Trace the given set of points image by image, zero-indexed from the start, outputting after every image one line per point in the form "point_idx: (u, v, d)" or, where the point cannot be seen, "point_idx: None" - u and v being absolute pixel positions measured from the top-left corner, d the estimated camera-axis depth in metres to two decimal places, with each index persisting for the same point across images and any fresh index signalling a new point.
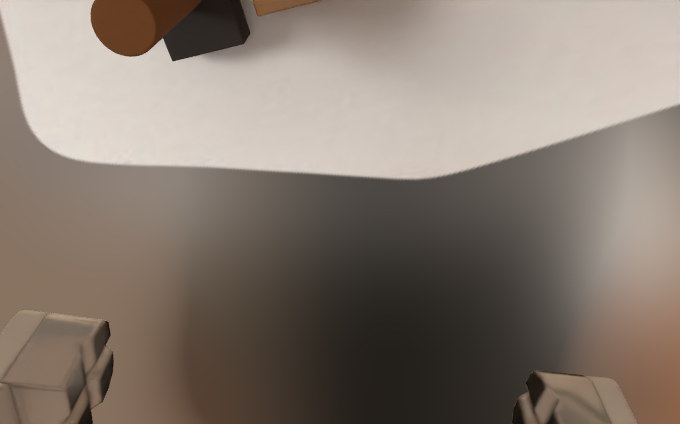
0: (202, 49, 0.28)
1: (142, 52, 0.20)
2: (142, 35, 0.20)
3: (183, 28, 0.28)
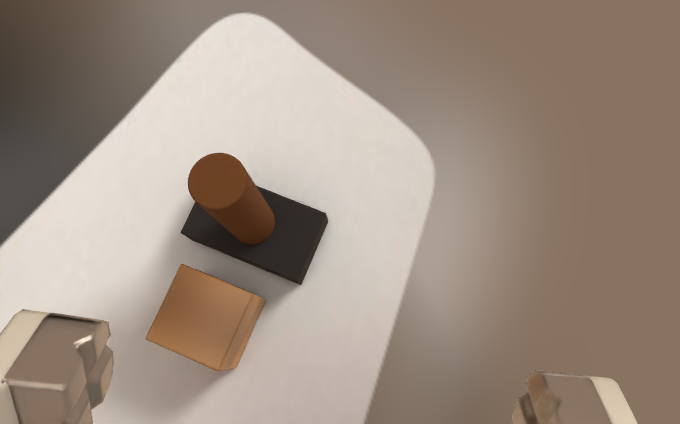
0: None
1: (189, 175, 0.22)
2: (200, 186, 0.22)
3: None
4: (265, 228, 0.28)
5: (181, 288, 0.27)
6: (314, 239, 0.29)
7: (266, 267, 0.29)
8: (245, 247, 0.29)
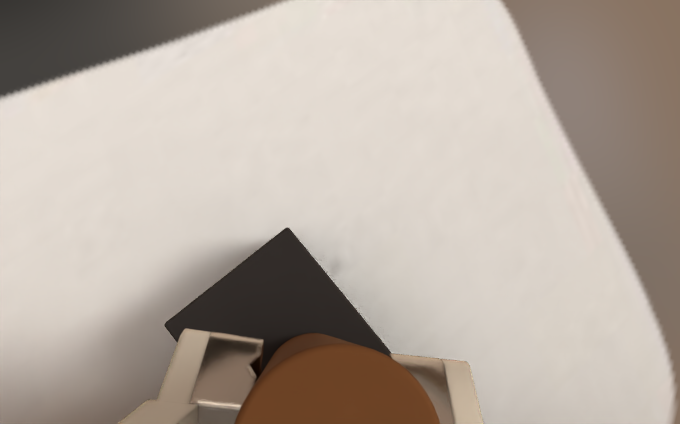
0: (239, 275, 0.14)
1: (259, 390, 0.06)
2: None
3: (285, 299, 0.14)
4: None
5: None
6: None
7: None
8: None
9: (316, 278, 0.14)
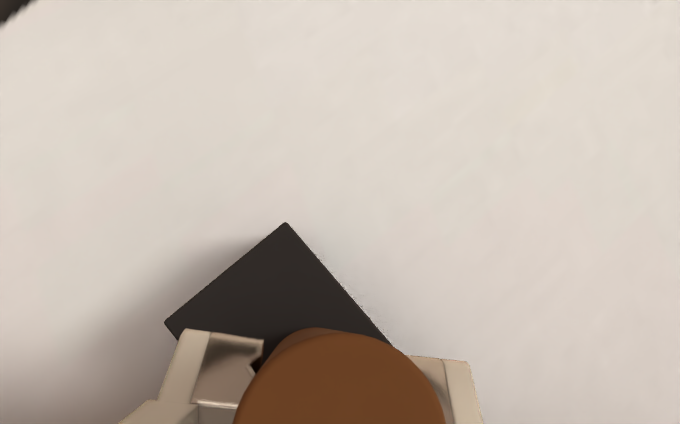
0: (238, 271, 0.14)
1: (259, 381, 0.06)
2: None
3: (285, 294, 0.14)
4: None
5: None
6: None
7: None
8: None
9: (315, 272, 0.14)
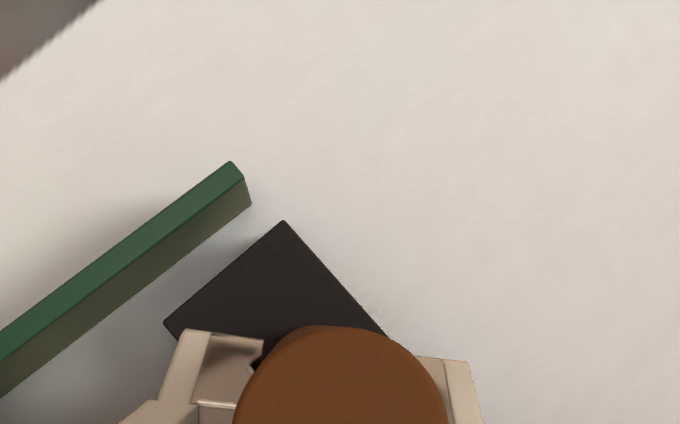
0: (236, 270, 0.14)
1: (258, 377, 0.06)
2: None
3: (284, 292, 0.14)
4: None
5: None
6: None
7: None
8: None
9: (314, 270, 0.14)
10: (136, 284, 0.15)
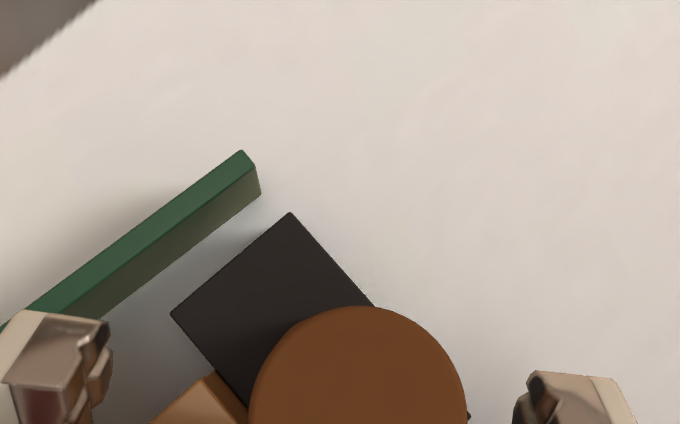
0: (243, 261, 0.14)
1: (276, 355, 0.06)
2: (293, 413, 0.06)
3: (290, 283, 0.14)
4: None
5: None
6: None
7: None
8: None
9: (321, 262, 0.14)
10: (146, 273, 0.15)
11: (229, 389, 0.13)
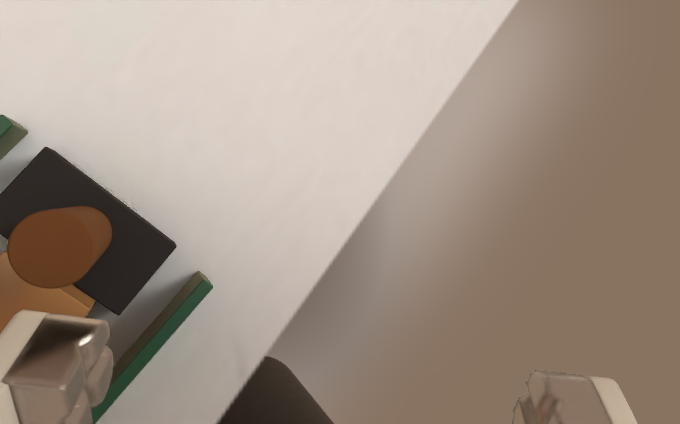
0: (20, 181, 0.23)
1: (13, 232, 0.16)
2: (25, 251, 0.16)
3: (54, 190, 0.24)
4: None
5: None
6: (153, 272, 0.25)
7: (84, 290, 0.24)
8: None
9: (71, 174, 0.24)
10: None
11: None
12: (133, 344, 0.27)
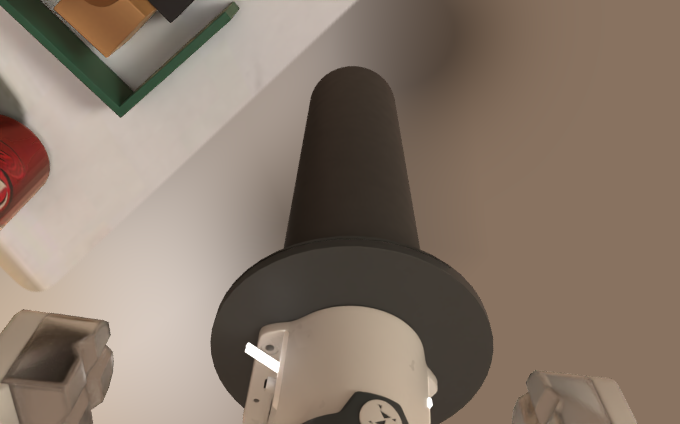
0: None
1: None
2: None
3: None
4: None
5: None
6: None
7: (148, 0, 0.35)
8: None
9: None
10: None
11: None
12: None
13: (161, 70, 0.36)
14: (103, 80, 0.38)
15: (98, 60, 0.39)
